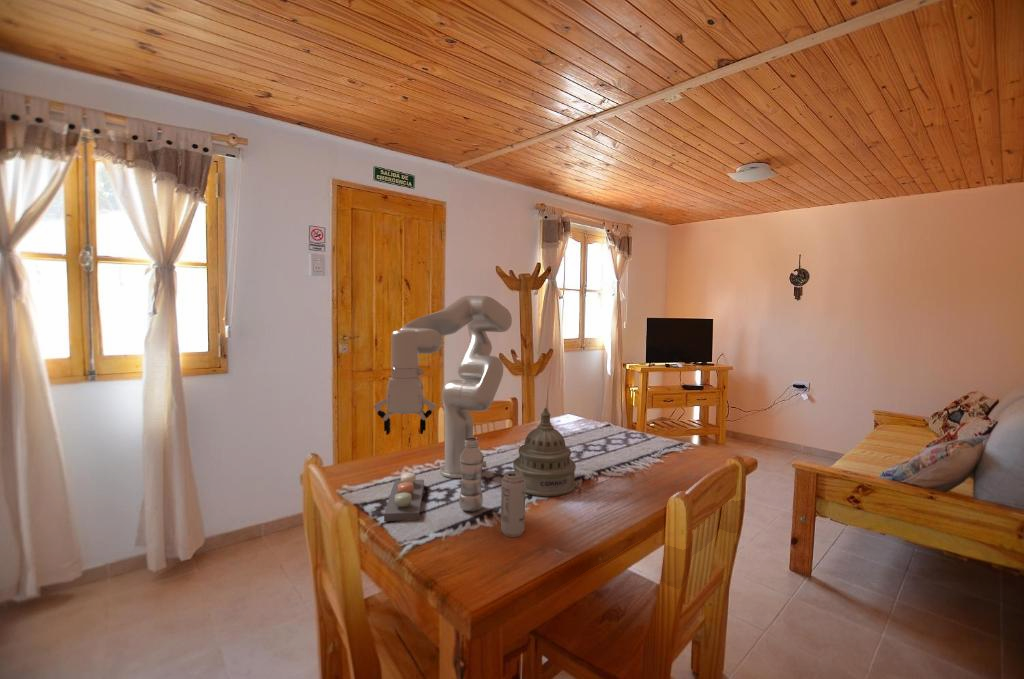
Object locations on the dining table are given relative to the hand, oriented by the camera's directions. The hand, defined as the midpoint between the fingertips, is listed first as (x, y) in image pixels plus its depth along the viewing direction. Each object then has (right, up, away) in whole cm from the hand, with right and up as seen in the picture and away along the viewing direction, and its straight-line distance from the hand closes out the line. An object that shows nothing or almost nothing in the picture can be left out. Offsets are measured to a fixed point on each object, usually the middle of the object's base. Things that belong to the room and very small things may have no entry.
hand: (405, 433), depth 132 cm
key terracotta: (0, -18, +1) cm, 18 cm away
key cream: (-1, -18, +9) cm, 20 cm away
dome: (+41, -20, +16) cm, 48 cm away
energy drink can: (+31, -22, -15) cm, 41 cm away
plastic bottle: (+19, -21, -3) cm, 29 cm away
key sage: (+1, -18, -6) cm, 19 cm away
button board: (0, -20, +2) cm, 20 cm away
